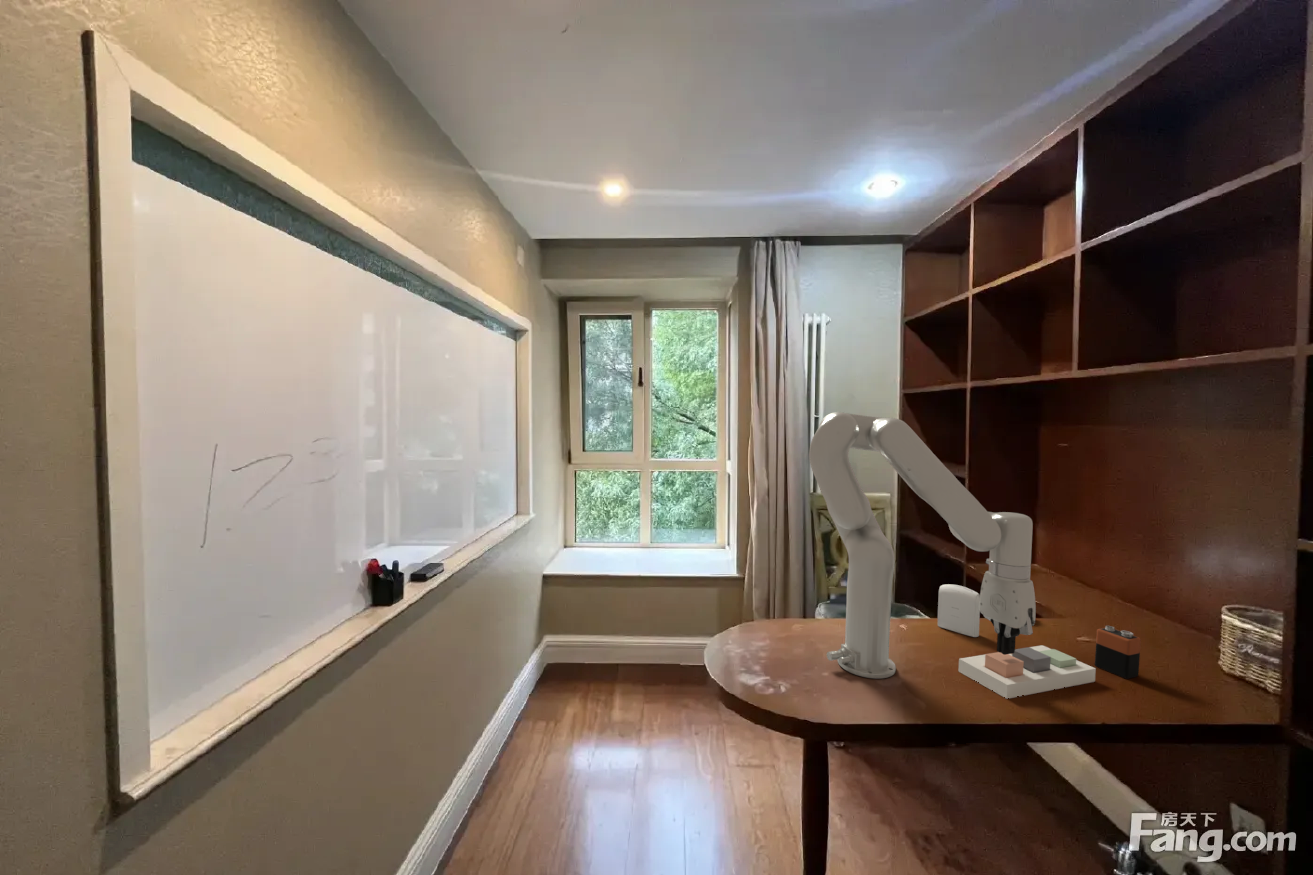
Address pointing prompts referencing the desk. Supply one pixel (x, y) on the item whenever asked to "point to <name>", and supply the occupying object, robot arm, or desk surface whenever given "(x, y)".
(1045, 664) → the charcoal key
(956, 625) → the photo printer
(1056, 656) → the sage key
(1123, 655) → the battery
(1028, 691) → the white flat slab
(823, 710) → the desk surface
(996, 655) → the terracotta key
